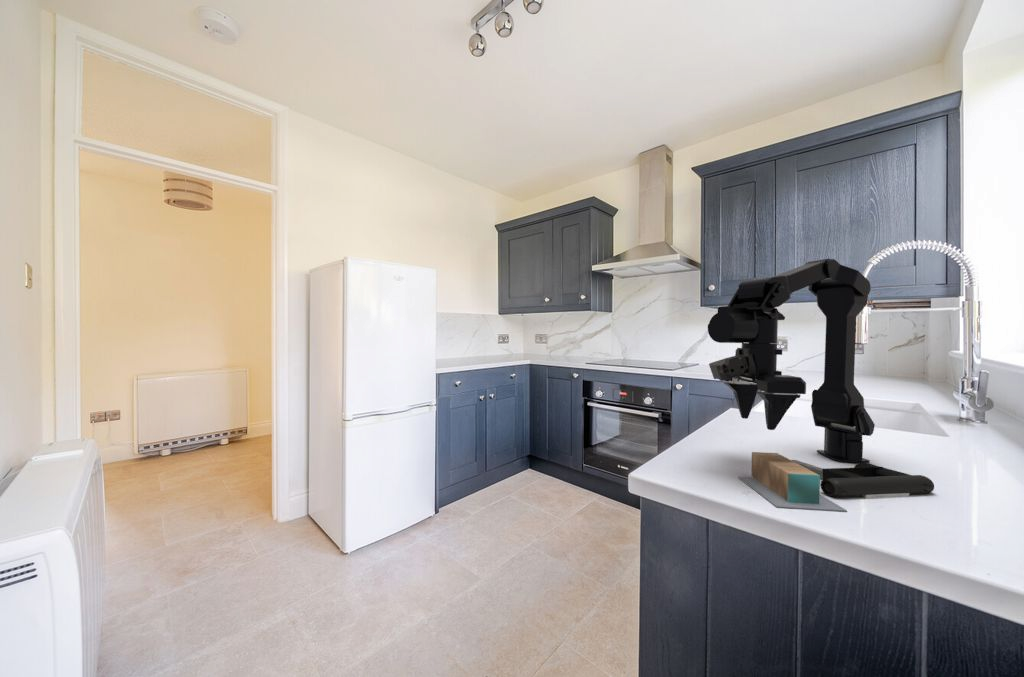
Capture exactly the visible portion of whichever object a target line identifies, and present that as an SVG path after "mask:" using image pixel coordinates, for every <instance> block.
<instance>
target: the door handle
mask: <svg viewBox="0 0 1024 677" xmlns="http://www.w3.org/2000/svg"><path fill="white" fill-rule="evenodd" d="M790 460H791V461H793V462H795V463H797V464H799V465H801V466H803V467H805V468H807V469H808V470H810V471H812V472H814V473H816V474H818V475H820V490H821V491H822V492H823V493H824V495H825V496H828V497H834V498H854V497H855V498H856V497H863V498H865V499H876V498H877V499H878V498H898V497H899V498H900V497H901V498H902V497H910V495H918V494H919V495H921V494H930V493H933V491H934V490H935V483H934V482H933V480H932V479H930V478H929V477H927V476H925V475H921V474H909V473H905V472H901V471H897V470H893V469H890V468H886V467H883V466H879V465H876V464H871V463H860V462H857V463H856V464H855V465H854V467H838V468H837V467H836V468H834V467H832V468H822V467H820V466H816V465H813V464H810V463H807V462H803V461H800V460H797V459H790Z"/></svg>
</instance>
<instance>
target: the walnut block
mask: <svg viewBox="0 0 1024 677" xmlns="http://www.w3.org/2000/svg"><path fill="white" fill-rule="evenodd" d="M791 460H792V459H789V458H788V457H786V456H784V455H782V454H780V453H777V452H763V451H762V452H761V451H752V452H751V467H750V468H751V473H750V474H751V475H750V477H754V478H755V479H757V480H758V481H759V482H761V483H762V484H764V485H765V486H766V487H768V488H769V489H771V490H772V491H773V492H775V493H776V494H778V495H779V496H781V497H782V498H783V499H785V500H786V501H788V502H793V503H810V504H819V496H820V495H821V493H820V492H821V491H820V490H821V486H820V484H821V479H820V475H818V474H816V473H814V472H812V471H810V470H808V469H807V468H805V467H803V466H801V465H799V464H797V463H795V462H793V461H791Z"/></svg>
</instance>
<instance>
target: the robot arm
mask: <svg viewBox="0 0 1024 677" xmlns="http://www.w3.org/2000/svg"><path fill="white" fill-rule="evenodd" d="M807 287H808V288H807ZM804 288H807V289H808V291H809V292H810V293H811V294H813V296H815V297H816V305H817V307H818V308H819V310H820V311H821V312H822V313H823V315H824V316H825V339H824V340H825V342H824V345H825V346H824V371H823V383H822V384H821V385H820V386H819V388H818V389H813V390H812V392H811V395H812V396H811V399H812V400H811V405H810V407H811V413H812V418H813V422H814V426H815V427H820V428H824V439H823V449H822V450H821V449H816V453H817V452H818V454H820V455H822V456H825V457H826V458H829V459H831V460H833V461H836V462H840V463H841V462H844V463H845V462H846V463H868V464H871V463H870V460H868V459H866V458H863V453H864V451H863V450H864V441H863V436H869V437H870V436H871V437H872V435H873V434H874V431H875V426H876V425H875V423H874V421H873V419H872V418H871V416H870V415H869V413H868V411H867V409H866V408H865V399H864V396H863V395H862V394H861V392H860V390H858V388H857V386H856V385H855V383H854V382H855V363H856V362H855V361H856V357H855V356H856V333H857V331H856V330H857V317H858V315H860V313H862V311H863V310H864V309H865V307H866V306H867V305H868V300H869V294H870V292H871V289H872V288H871V282H870V281H869V279H867V277H865V276H864V274H862V272H860V271H859V270H858V269H856V268H851V267H849V266H846V265H843V264H840V263H839V262H838V261H837V260H836V259H835V258H823V259H817V260H811V261H807V262H806V263H804V264H802V265H800V266H797V267H794V268H792V269H789V270H787V271H785V272H782V273H779V274H777V275H774V276H769V277H763V278H756V279H747V280H742V281H741V282H740V283H739V284H738V288H737V290H736V291H735V293H734V295H733V296H732V298H731V299H730V301H729V303H728V304H727V305H722V306H720V305H719V306H718V307H717V312H716V313H715V314H713V316H712V317H711V318H710V320H709V323H708V324H707V333H708V335H709V337H710V338H711V340H713V342H715V343H719V344H720V343H721V344H741V347H736V349H735V355H733V356H728V357H725V358H722V359H718V360H716V361H712V362H710V363H708V366H709V368H710V371H711V373H712V377H713V379H714V380H719V381H720V382H723V384H724V385H725V386H727V387H728V389H730V390H731V391H732V392H733V394H734V398H735V401H736V405H737V407H738V408H737V409H738V411H739V413H740V417H741V418H742V419H749V417H750V414H751V412H752V408H753V405H754V403H755V399H756V397H757V395H758V396H759V397H760V398H761V399H762V400H763V403H764V413H765V424H766V425H765V426H766V429H767V430H768V431H775V430H776V428H777V426H778V425H779V424H780V422H781V421H782V419H783V417H784V416H786V415H785V414H786V413H787V411H788V410H789V409H790V408H791V406H792V405H793V404H794V402H795V401H796V400H797V399H801V395H806V394H807V382H806V381H805V380H804V379H803V378H802V377H799V376H793V375H789V374H785V375H784V374H783V371H780V370H777V363H778V362H777V361H778V356H781V355H783V348H778V326H779V322H778V321H785V319H786V317H785V315H784V314H782V313H781V312H780V311H779V309H778V307H781V306H782V305H783V304H784V303H786V302H787V301H789V300H790V299H791V294H793V293H796V292H797V291H800V290H802V289H804Z"/></svg>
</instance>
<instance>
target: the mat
mask: <svg viewBox="0 0 1024 677" xmlns="http://www.w3.org/2000/svg"><path fill="white" fill-rule="evenodd" d="M737 479H738V480H740V481H742V482H743V483H745V484H746V485H747V486H748V487H750V488H751V489H752V490H754V491H755V492H756V493H757V494H759V495H760V496H761V497H762V498H763V499H765V500H766V501H767V502H769V503H770V504H771V505H772V506H774V507H775V508H779V509H793V510H794V509H795V510H810V511H811V510H813V511H828V512H842V513H843V512H845V513H848V510H847V509H845V508H844V507H842V506H841V505H838V503H835V502H834V501H832V500H830V499H829V498H827V497H825V496H824V495H822V494H820V496H819V504H810V503H793V502H788V501H786V500H785V499H783V498H782V497H781V496H779V495H778V494H776V493H775V492H773V491H772V490H771V489H769V488H768V487H766V486H765V485H764V484H762V483H761V482H759V481H758V480H757V479H755V478H754V477H752V476H750V477H749V476H737Z"/></svg>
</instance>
